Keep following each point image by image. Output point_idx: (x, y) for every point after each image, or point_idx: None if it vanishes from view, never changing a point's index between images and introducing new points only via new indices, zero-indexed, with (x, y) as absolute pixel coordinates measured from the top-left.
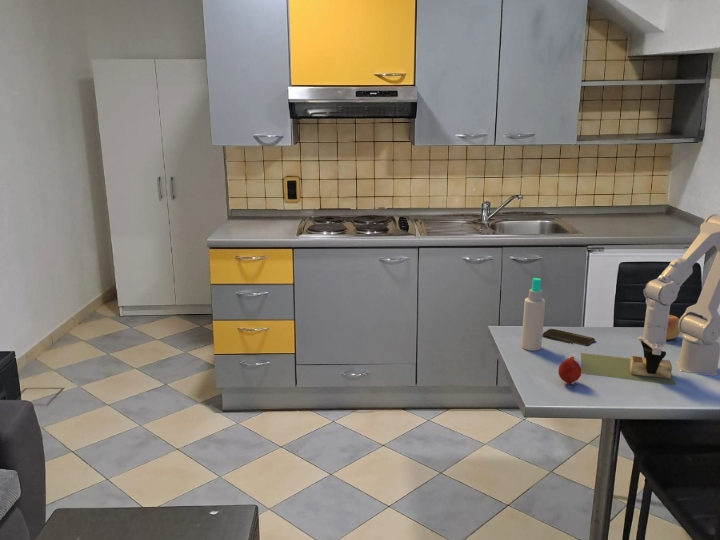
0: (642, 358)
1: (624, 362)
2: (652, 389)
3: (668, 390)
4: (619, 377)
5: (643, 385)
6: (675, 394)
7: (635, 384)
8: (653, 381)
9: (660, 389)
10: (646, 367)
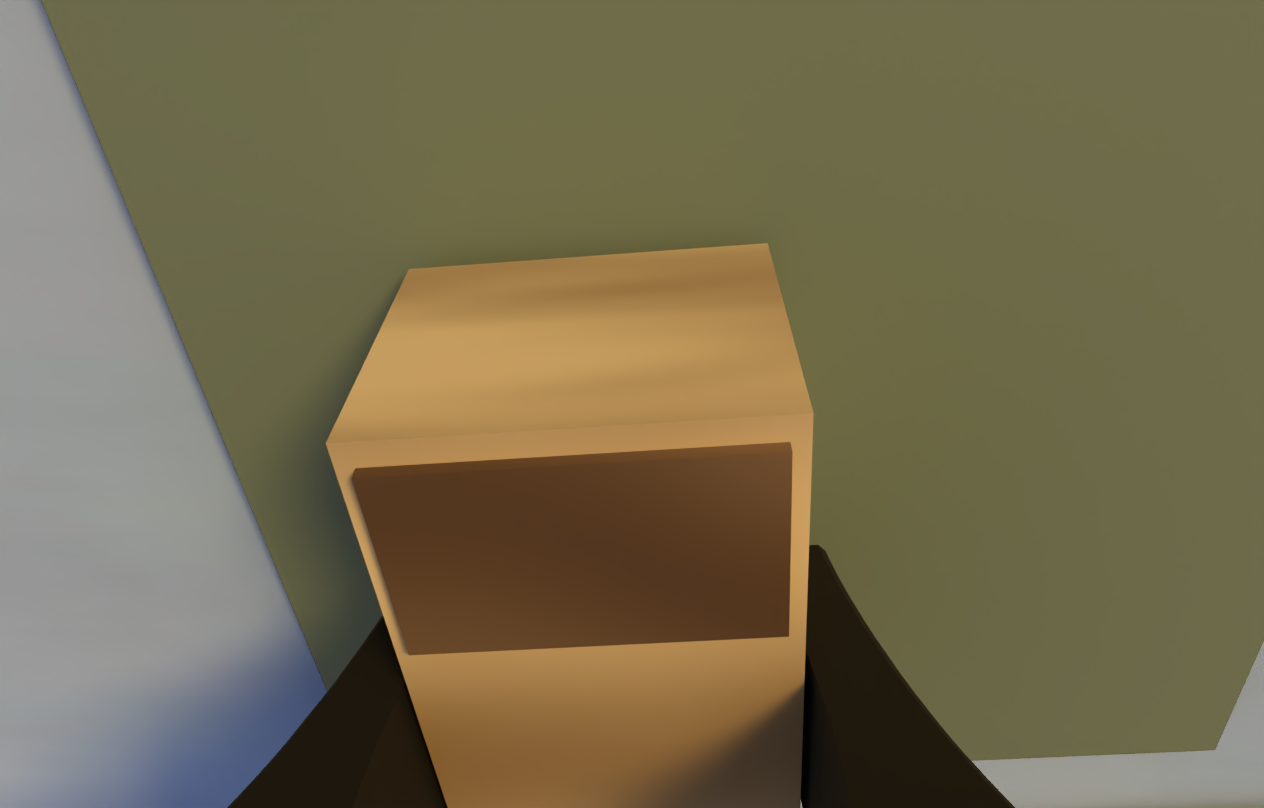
0: (723, 642)
1: (1155, 126)
2: (43, 546)
3: (173, 701)
4: (88, 11)
5: (108, 440)
6: (98, 752)
7: (49, 323)
8: (321, 582)
9: (132, 630)
10: (386, 637)
